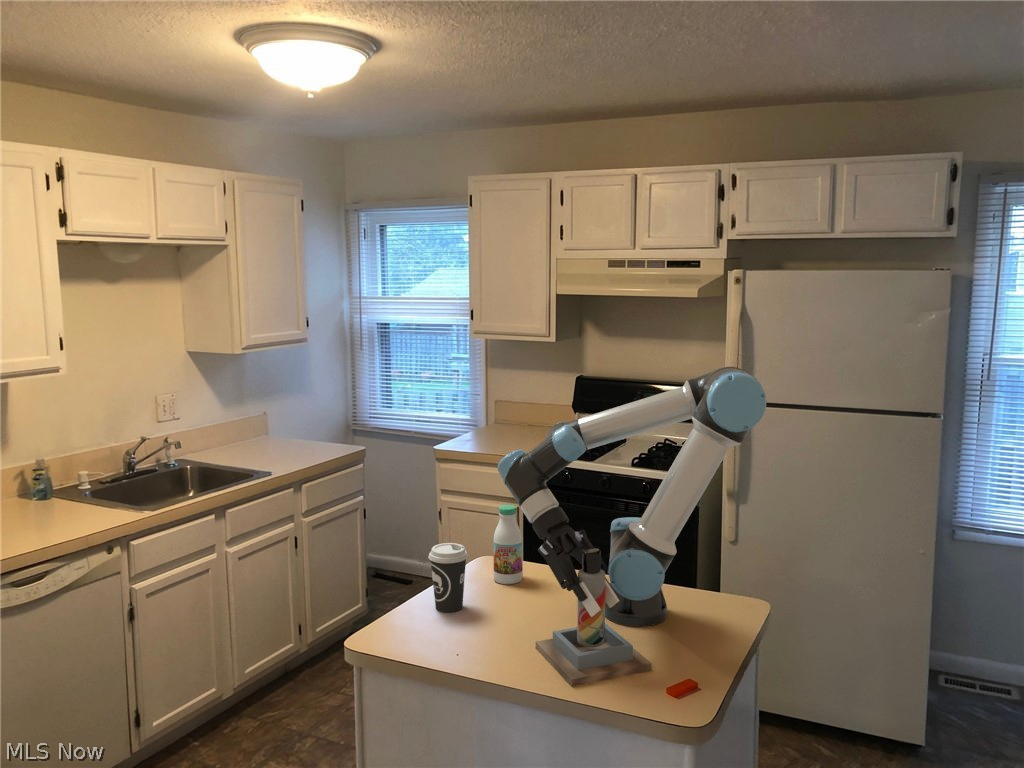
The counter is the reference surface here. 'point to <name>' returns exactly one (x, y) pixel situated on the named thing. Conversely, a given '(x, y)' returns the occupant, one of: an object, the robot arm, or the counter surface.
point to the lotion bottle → (594, 579)
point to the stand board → (590, 674)
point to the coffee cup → (448, 576)
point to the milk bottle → (508, 548)
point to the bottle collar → (595, 658)
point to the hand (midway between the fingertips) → (605, 608)
